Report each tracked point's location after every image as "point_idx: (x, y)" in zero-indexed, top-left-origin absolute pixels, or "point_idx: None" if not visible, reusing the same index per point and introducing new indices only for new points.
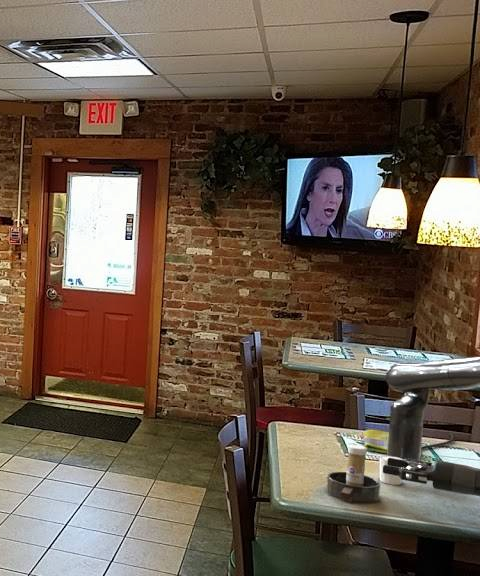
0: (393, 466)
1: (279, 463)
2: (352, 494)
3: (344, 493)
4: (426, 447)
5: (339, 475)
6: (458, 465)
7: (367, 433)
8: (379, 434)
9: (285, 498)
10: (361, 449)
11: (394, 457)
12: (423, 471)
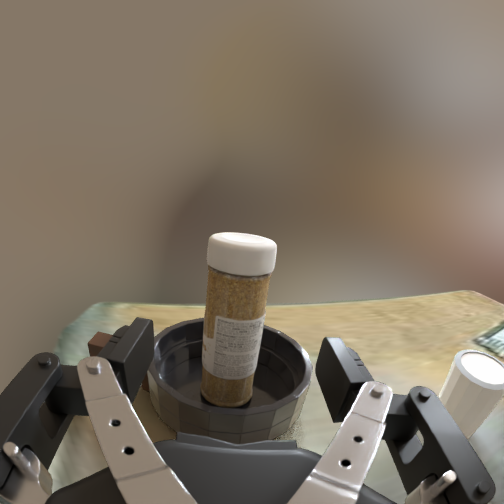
0: (129, 341)
1: (330, 303)
2: None
3: (93, 337)
4: None
5: (275, 341)
6: None
7: None
8: None
9: (120, 306)
10: (213, 241)
11: (499, 365)
12: (67, 501)
